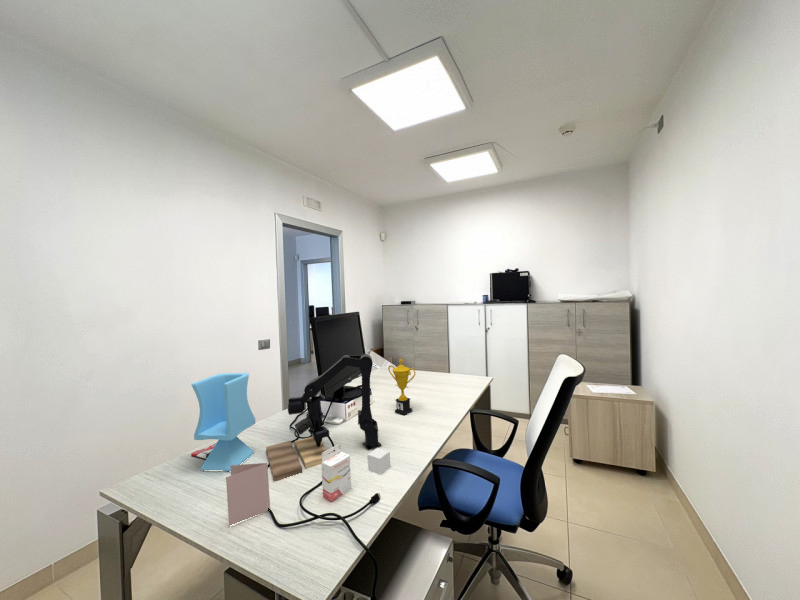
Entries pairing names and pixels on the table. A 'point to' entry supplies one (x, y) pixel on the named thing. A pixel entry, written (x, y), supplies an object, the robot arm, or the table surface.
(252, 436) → the table surface
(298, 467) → the walnut board
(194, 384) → the blue pedestal chair
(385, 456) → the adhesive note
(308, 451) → the oak plank
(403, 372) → the trophy
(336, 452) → the ink cartridge box
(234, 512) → the greeting card
